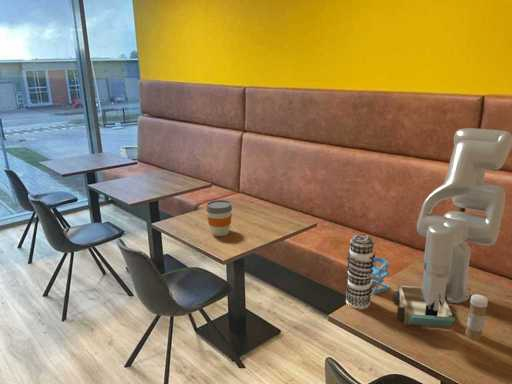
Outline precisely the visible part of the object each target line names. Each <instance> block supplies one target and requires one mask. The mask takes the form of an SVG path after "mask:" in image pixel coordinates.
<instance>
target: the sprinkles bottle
mask: <svg viewBox="0 0 512 384" xmlns="http://www.w3.org/2000/svg"><path fill="white" fill-rule="evenodd" d="M469 302H470V307H469V311H468V317H467V323H466V328H465V329H466V330H465V336H467V338H469V339H470V340H471V339H472V340H476V341H478V340H481V339H482V337H483V336H482V335H483V329H484V324H485V318H486V312H487V311H486V310H487V307H488V303H489V300H488V298H487V297H486V296H484V295H482V294H473V295H471V297H470V301H469Z"/></svg>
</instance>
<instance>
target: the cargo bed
mask: <svg viewBox="0 0 512 384" xmlns="http://www.w3.org/2000/svg"><path fill="white" fill-rule="evenodd" d="M397 286H398V287H397V290H394V291H393V293H392V298H393V299H392V300H393V303H395V304H398V307H397V309H396V315H397V320H398V321H400V320H401V321H403V325H406V326H407V325H408V326H409V325H410V324H407V323H406V321H407V320H408V321H409V319H410V318H411V316H412V315H413V314H417V315H425V310H426V305H427V304H426V302H425V299H424V296H423V293H422V288H421V287H422V286H415V285H414V286H413V285H399V284H398V285H397ZM448 303H449V302H448V300H447V296H446V295H445V300H444V305H443V306H441V305H440V302H439V311H438V313H437V316H442V317H454V318H455V321H454V322H453V323H452V324H451V325H455V324H456V321H457V320H456V318H457V317H456V312H455V310H454V311H453V310H451V309H450V307H449V304H448ZM451 325H450V327H451ZM410 326H411V325H410ZM417 326H419V327H422V326H421V325H417ZM429 327H431V328H434V327H433V326H429ZM442 328H444V329H445V327H441V329H442Z"/></svg>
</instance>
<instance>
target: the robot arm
mask: <svg viewBox="0 0 512 384" xmlns="http://www.w3.org/2000/svg"><path fill="white" fill-rule="evenodd" d="M453 146H454V147H453V150H452V152H451V153H452V154H451V157H450V161H449V164H448V168H447V171H446V174H445V178H444V182H443V184H442V185H439V187H437V188H435V189H434V190H433V191H431V192H430V194H428V196H426V198H425V199H424V201H423V203H422V205H421V208H420V212H419V215H418V220H417V224H416V231H417V233H418V235H420V236H421V237H422V238H423V237H424V238H425V247H424V255H423V256H424V258H423V264H422V270H423V275H422V281H421V286H420V287H421V288H422V293H423V296H424V299H425V302H426V304H427V305H426V310H425V315H429V316H437V313H438V311H439V302H440V305H441V306H443V305H444V300H445V295H446V296H447V300H448V303H450V304H463V303H466V302H467V301H468V300H469V299H470V293H469V291H468V290H467V289H466V286H467V279H468V273H469V267H470V261H471V260H470V259H471V254H472V253H471V248H470V246H469V244H468V242H469V243H473V244H478V245H482V246H487V247H488V246H493V245H495V244H496V242H497V240H498V238H499V234H500V229H501V222H502V219H503V213H504V208H505V204H506V203H505V202H506V190H505V189H504V188H503V187H502V186H501V185H496V184H492V183H485V182H484V179H485V174H486V170H491V171H492V170H493V171H497V170H499V169H501V168H502V167H503V166H504V164H505V162H506V159H507V158H508V156H509V154H510V152H511V149H512V134H511V132H510V131H506V130H500V129H499V130H498V129H488V128H487V129H485V128H473V127H469V128H468V127H467V128H460V129H458V130H456V131H455V133H454V135H453ZM450 198H451V201H452V204H453V205H454V206H456V207H458V208H462V209H467V210H471V211H477V212H483V213H485V214H486V215H481V214H475V213H472V212H471V213H470V212H465V211H458V210H451V211H447V212H446V213H444V214H443V215H438V214H434V213H433V209H434V207H435V206H437V204H439V203H440V202H442V201H445V200H447V199H450Z"/></svg>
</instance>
